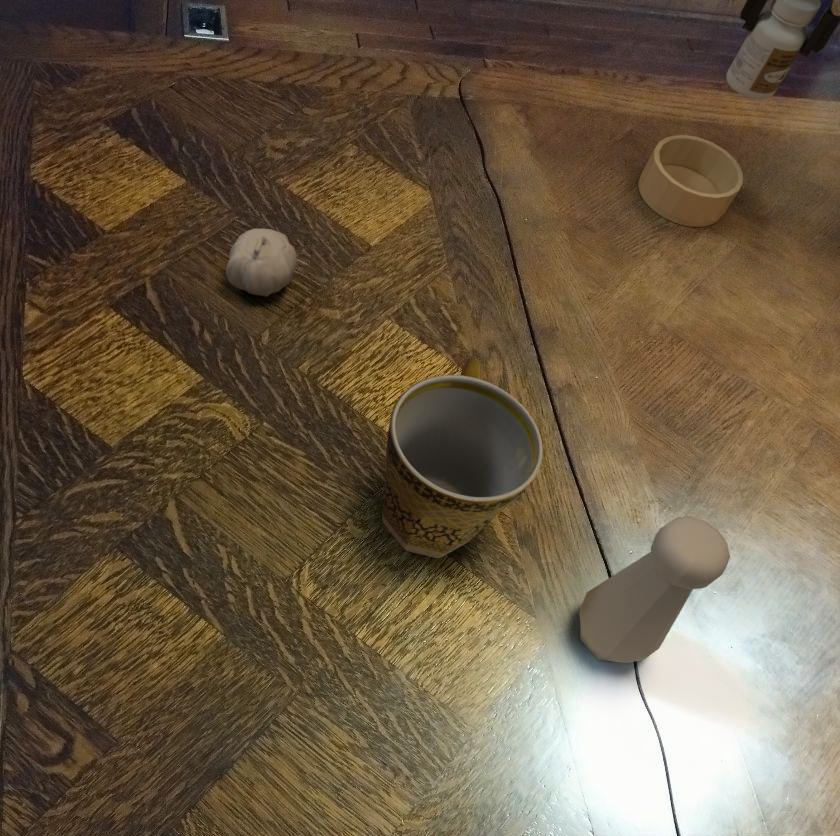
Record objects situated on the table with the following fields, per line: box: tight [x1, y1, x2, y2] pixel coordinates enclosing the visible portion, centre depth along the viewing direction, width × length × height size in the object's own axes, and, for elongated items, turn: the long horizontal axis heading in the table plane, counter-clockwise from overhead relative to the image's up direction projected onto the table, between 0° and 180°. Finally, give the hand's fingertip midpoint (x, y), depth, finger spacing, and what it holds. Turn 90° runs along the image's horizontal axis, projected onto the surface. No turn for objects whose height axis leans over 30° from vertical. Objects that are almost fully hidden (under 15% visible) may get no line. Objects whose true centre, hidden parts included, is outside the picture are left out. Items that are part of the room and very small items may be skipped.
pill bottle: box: [725, 0, 822, 101], centre depth 81 cm, size 4×4×8 cm
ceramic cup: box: [381, 357, 544, 559], centre depth 68 cm, size 13×10×10 cm
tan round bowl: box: [637, 134, 744, 228], centre depth 93 cm, size 9×9×4 cm
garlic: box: [225, 227, 298, 297], centre depth 78 cm, size 6×5×5 cm
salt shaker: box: [578, 515, 731, 664], centre depth 63 cm, size 6×6×13 cm
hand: (776, 37), depth 81 cm, fingers closed on pill bottle, 4 cm apart
